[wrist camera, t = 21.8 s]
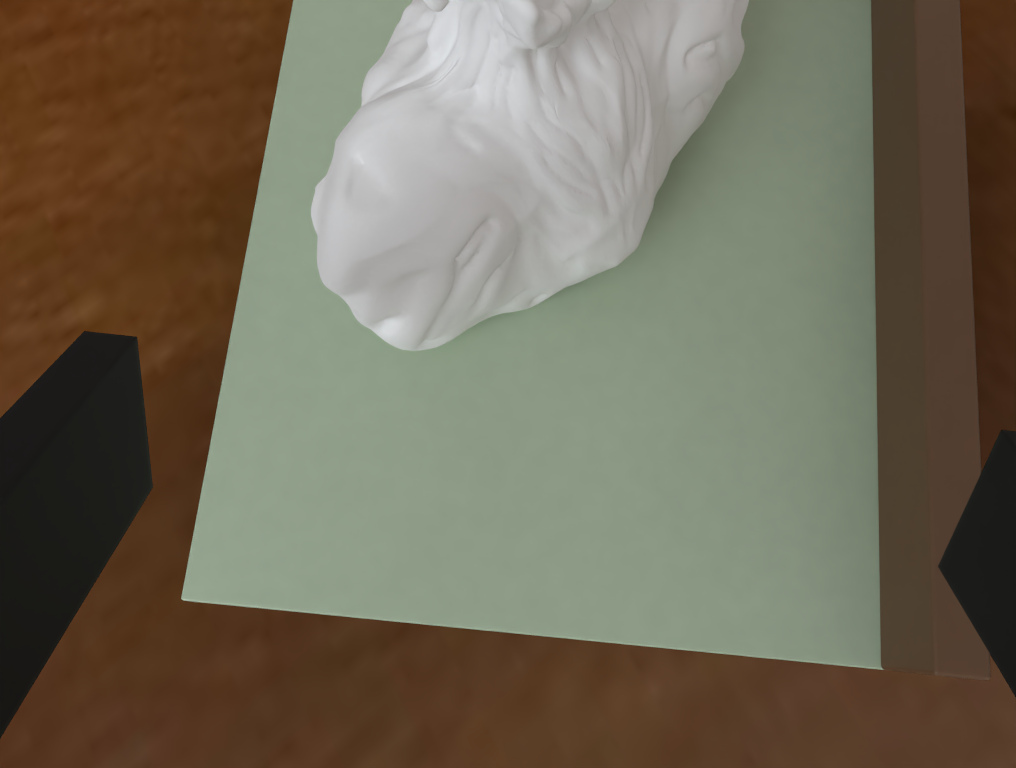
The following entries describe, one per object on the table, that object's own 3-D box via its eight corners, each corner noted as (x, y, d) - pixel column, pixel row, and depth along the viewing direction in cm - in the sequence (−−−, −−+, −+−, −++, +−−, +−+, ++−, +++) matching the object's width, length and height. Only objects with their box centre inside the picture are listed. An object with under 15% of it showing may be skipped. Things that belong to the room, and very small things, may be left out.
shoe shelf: (232, 604, 24) (144, 597, 17) (346, -60, 30) (316, -269, 23) (837, 664, 25) (992, 680, 18) (835, 4, 31) (952, -181, 24)
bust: (652, 94, 26) (515, -369, 19) (878, 151, 21) (813, -465, 13) (341, 356, 24) (32, -61, 16) (508, 498, 18) (162, -26, 11)
